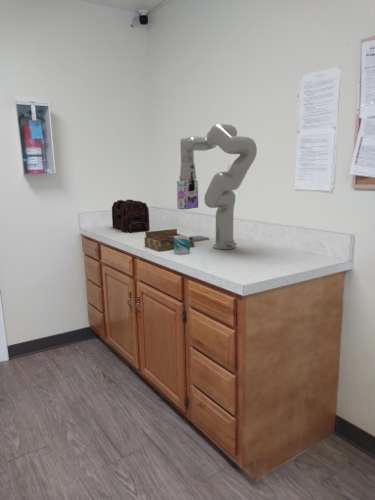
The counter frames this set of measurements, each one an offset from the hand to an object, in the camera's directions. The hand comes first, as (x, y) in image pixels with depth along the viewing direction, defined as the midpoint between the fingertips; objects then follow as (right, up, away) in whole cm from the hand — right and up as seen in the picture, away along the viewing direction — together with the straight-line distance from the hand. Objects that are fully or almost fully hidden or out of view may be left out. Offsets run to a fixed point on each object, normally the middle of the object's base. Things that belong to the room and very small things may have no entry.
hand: (187, 190), depth 234 cm
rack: (-10, -33, -12) cm, 36 cm away
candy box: (0, -10, +2) cm, 11 cm away
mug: (-4, -36, -26) cm, 45 cm away
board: (+2, -29, +8) cm, 30 cm away
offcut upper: (-7, -31, -18) cm, 36 cm away
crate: (-42, -20, +56) cm, 73 cm away
